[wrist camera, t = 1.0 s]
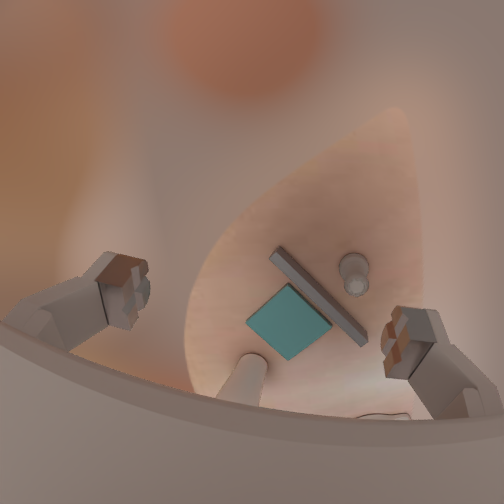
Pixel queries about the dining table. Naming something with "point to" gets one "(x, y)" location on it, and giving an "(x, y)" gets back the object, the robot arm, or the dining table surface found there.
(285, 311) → the coaster
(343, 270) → the rook chess piece
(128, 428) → the robot arm
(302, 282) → the low wall
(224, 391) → the drinking glass
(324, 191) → the dining table surface
